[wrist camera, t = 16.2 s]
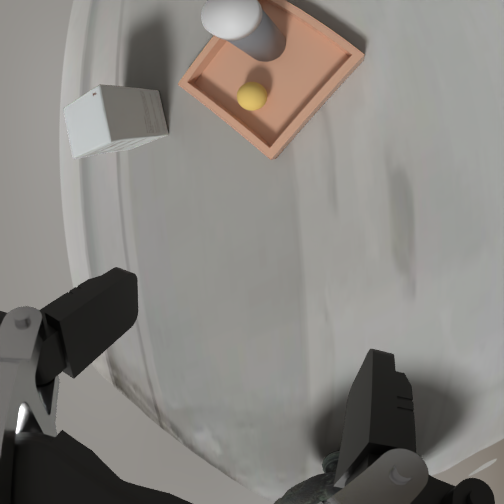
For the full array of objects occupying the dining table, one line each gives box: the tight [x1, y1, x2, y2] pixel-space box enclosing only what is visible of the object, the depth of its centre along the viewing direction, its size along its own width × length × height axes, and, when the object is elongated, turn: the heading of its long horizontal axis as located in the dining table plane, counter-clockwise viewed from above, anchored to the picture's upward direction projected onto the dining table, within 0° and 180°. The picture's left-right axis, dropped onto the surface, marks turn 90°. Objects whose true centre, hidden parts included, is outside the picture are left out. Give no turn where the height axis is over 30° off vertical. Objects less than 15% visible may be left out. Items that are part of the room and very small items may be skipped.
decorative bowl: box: [274, 451, 342, 504], centre depth 46 cm, size 26×26×20 cm
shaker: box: [201, 0, 286, 62], centre depth 28 cm, size 5×5×12 cm
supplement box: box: [63, 85, 169, 159], centre depth 37 cm, size 7×7×13 cm
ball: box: [237, 82, 267, 111], centre depth 35 cm, size 4×4×4 cm
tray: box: [178, 0, 365, 160], centre depth 34 cm, size 17×16×3 cm
